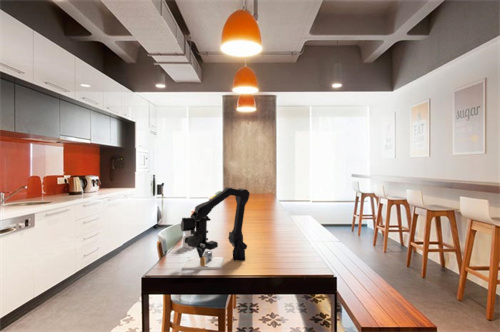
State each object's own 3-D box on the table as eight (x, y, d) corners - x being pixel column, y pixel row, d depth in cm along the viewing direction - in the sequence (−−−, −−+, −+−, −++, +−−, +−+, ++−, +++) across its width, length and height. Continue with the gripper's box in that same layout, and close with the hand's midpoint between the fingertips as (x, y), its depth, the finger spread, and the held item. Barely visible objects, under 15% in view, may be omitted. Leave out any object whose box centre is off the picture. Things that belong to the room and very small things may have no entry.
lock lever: (206, 257, 158) (206, 250, 158) (213, 258, 157) (212, 251, 157) (198, 265, 148) (198, 257, 148) (206, 265, 147) (205, 258, 147)
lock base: (223, 258, 160) (223, 256, 160) (221, 268, 146) (221, 266, 146) (188, 259, 160) (188, 257, 160) (182, 269, 146) (182, 267, 146)
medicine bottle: (191, 244, 187) (190, 226, 186) (198, 246, 182) (198, 228, 182) (182, 247, 181) (182, 228, 181) (189, 249, 177) (189, 230, 176)
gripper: (177, 229, 147) (176, 258, 148) (204, 236, 137) (203, 267, 138) (192, 224, 157) (191, 252, 158) (218, 231, 147) (218, 260, 148)
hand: (200, 258), depth 150 cm, fingers closed
